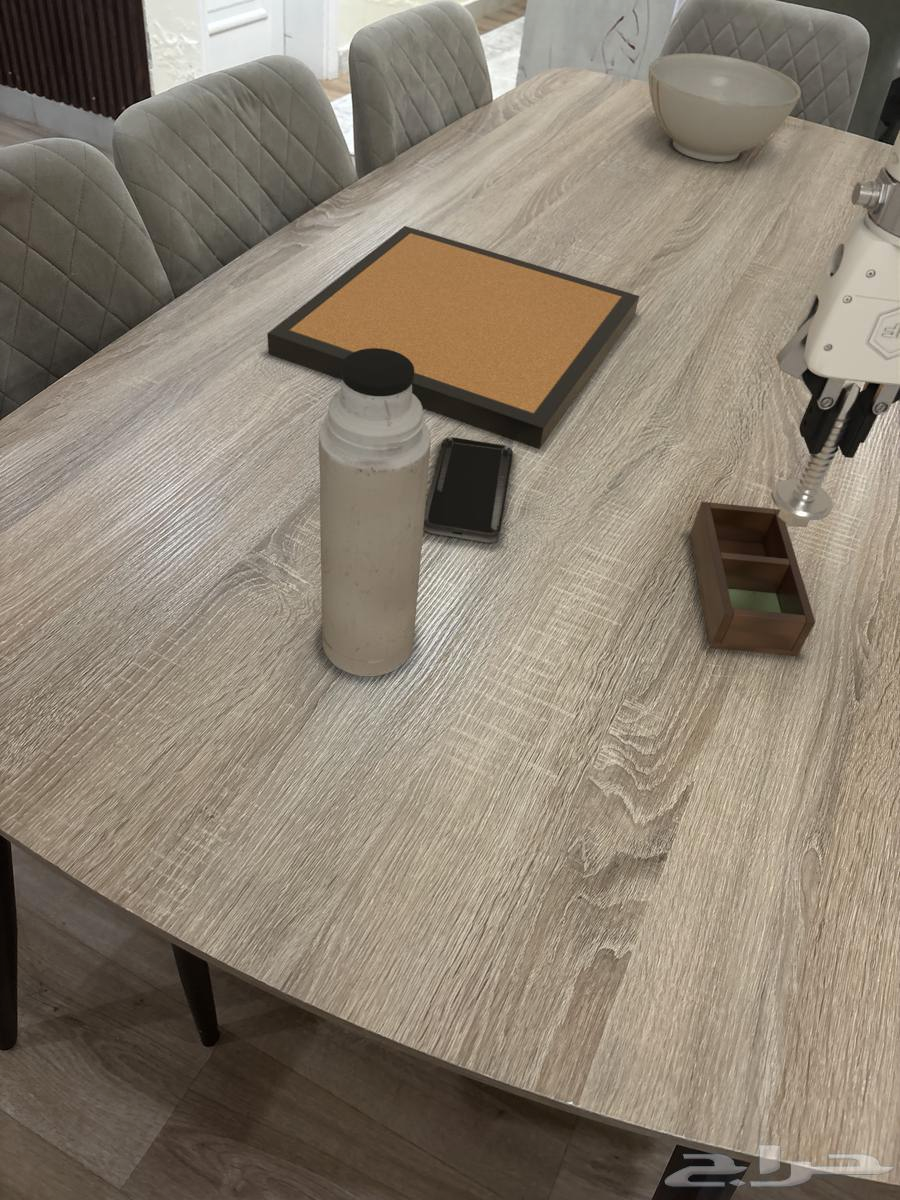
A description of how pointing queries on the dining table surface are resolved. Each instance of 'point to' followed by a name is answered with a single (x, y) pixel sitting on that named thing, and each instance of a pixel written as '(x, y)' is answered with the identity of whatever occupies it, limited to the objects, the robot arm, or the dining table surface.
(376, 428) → the thermos bottle
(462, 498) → the phone
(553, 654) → the dining table surface
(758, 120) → the decorative bowl
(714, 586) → the organiser
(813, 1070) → the dining table surface
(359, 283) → the cork board
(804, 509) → the screw
